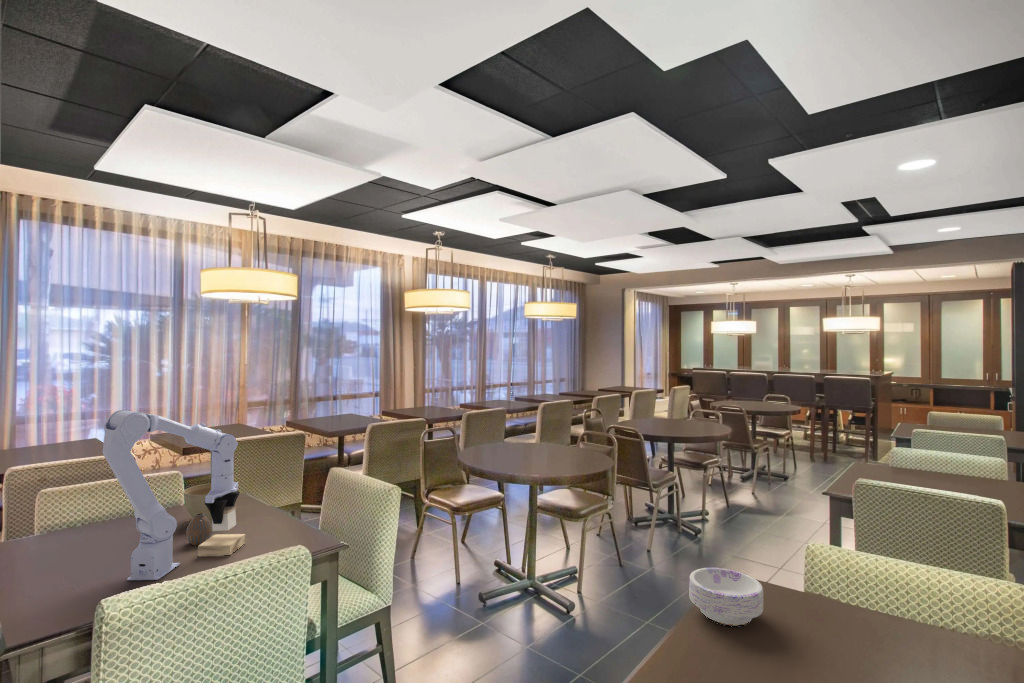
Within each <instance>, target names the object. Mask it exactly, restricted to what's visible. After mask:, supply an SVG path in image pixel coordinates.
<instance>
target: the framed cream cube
mask: <svg viewBox="0 0 1024 683" xmlns="http://www.w3.org/2000/svg"><path fill="white" fill-rule="evenodd" d="M236 509H237V505H236V506H235V505H234V506H232V507H225V508H224V512H223V520H222V523H221V524H213V521H212V530H213V531H212V532H222V531H223V532H224V531H226V532H227V531H230V530H232V528H234V527H235V526H237V514H236V513H237V512H236V511H237V510H236Z"/></svg>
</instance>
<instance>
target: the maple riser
mask: <svg viewBox="0 0 1024 683" xmlns="http://www.w3.org/2000/svg"><path fill="white" fill-rule="evenodd" d="M243 544H245V545H246V533H232V534H231V533H223V534H221V533H220V534H218V533H216V534H213V535H211V538H209V539H208V540H206V541H205V542H203V543H202V544H200V545H197V557H198V556H199V557H222V556H221V555H230V554H232V553H233V552H235V551H236V550H237V549H238V550H240V549H241V548H242V547H243V546H244V545H243ZM242 545H243V546H242ZM241 546H242V547H241ZM240 547H241V548H240ZM239 548H240V549H239ZM238 550H237V551H238ZM237 551H236V552H237ZM236 552H235V553H236ZM233 554H234V553H233ZM233 554H232V555H233Z"/></svg>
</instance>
